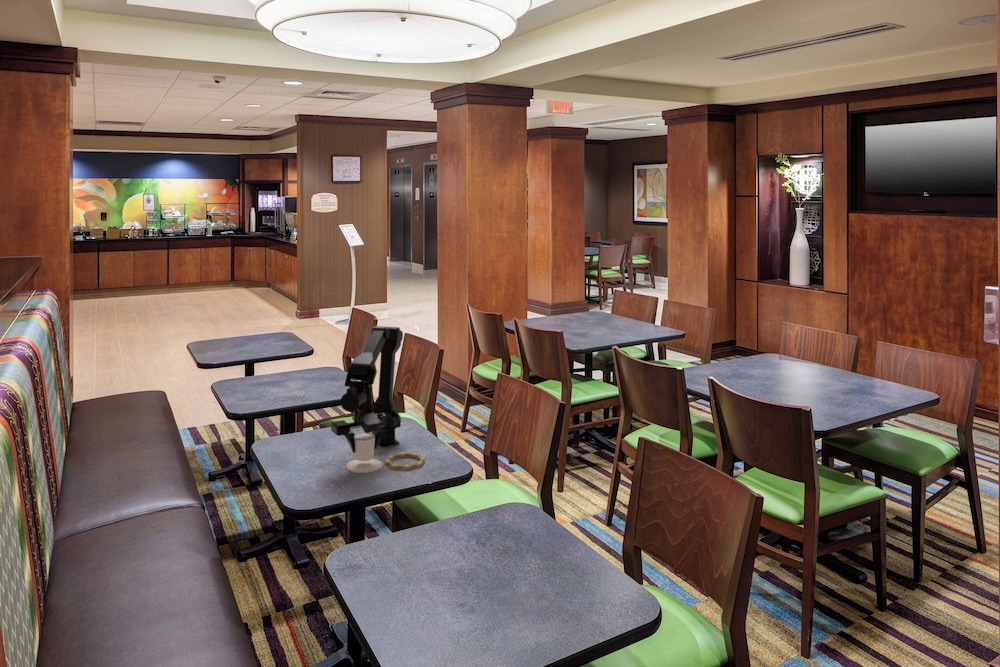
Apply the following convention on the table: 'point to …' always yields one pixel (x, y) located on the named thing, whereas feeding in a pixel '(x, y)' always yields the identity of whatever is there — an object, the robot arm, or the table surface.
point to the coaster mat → (364, 466)
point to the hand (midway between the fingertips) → (364, 450)
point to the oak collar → (405, 467)
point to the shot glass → (364, 446)
